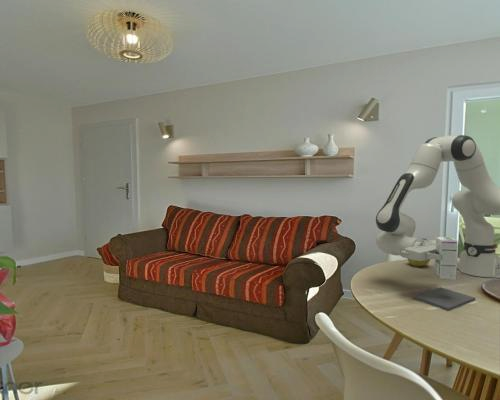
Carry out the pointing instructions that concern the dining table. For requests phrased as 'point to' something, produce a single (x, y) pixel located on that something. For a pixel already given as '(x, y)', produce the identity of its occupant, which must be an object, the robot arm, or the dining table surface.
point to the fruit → (418, 262)
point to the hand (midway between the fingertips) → (448, 256)
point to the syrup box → (446, 257)
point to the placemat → (444, 298)
